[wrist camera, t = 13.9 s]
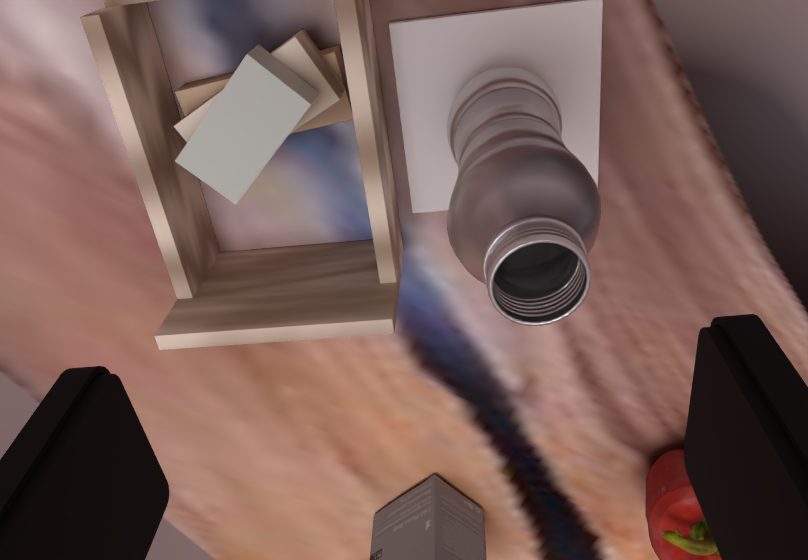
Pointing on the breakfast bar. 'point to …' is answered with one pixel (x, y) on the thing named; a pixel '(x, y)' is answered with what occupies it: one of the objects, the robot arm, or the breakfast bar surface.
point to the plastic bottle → (520, 197)
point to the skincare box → (429, 526)
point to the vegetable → (676, 513)
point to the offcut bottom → (338, 112)
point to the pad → (486, 49)
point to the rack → (191, 226)
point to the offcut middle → (303, 63)
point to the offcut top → (246, 124)
